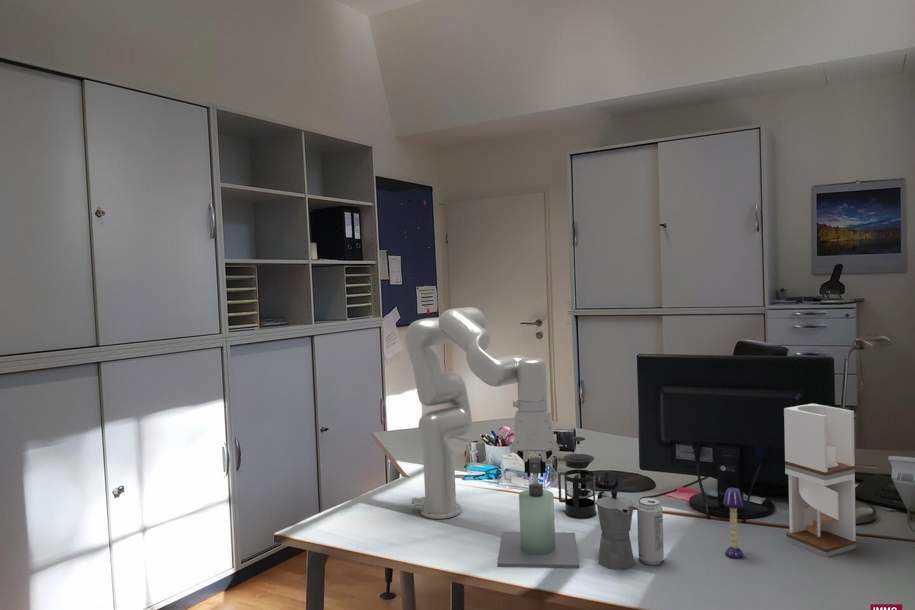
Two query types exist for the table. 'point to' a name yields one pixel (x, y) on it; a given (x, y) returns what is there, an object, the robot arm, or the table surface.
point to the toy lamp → (733, 520)
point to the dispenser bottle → (537, 535)
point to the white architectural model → (820, 478)
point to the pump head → (535, 468)
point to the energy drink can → (650, 531)
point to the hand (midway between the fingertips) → (535, 474)
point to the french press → (578, 486)
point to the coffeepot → (615, 531)
